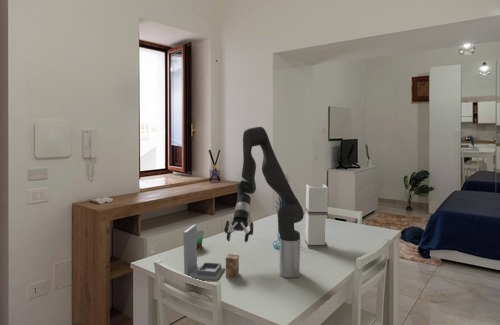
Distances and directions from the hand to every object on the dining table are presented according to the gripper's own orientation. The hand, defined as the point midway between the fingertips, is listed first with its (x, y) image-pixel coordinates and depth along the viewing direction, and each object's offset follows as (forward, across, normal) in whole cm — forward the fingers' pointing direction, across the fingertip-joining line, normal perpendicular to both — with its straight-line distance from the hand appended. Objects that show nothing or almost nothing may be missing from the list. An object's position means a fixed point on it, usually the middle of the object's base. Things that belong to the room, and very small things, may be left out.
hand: (236, 241), depth 172 cm
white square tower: (-20, +38, +39) cm, 58 cm away
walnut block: (+16, 0, +2) cm, 16 cm away
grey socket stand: (+16, -13, +3) cm, 21 cm away
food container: (-6, -30, +25) cm, 40 cm away
